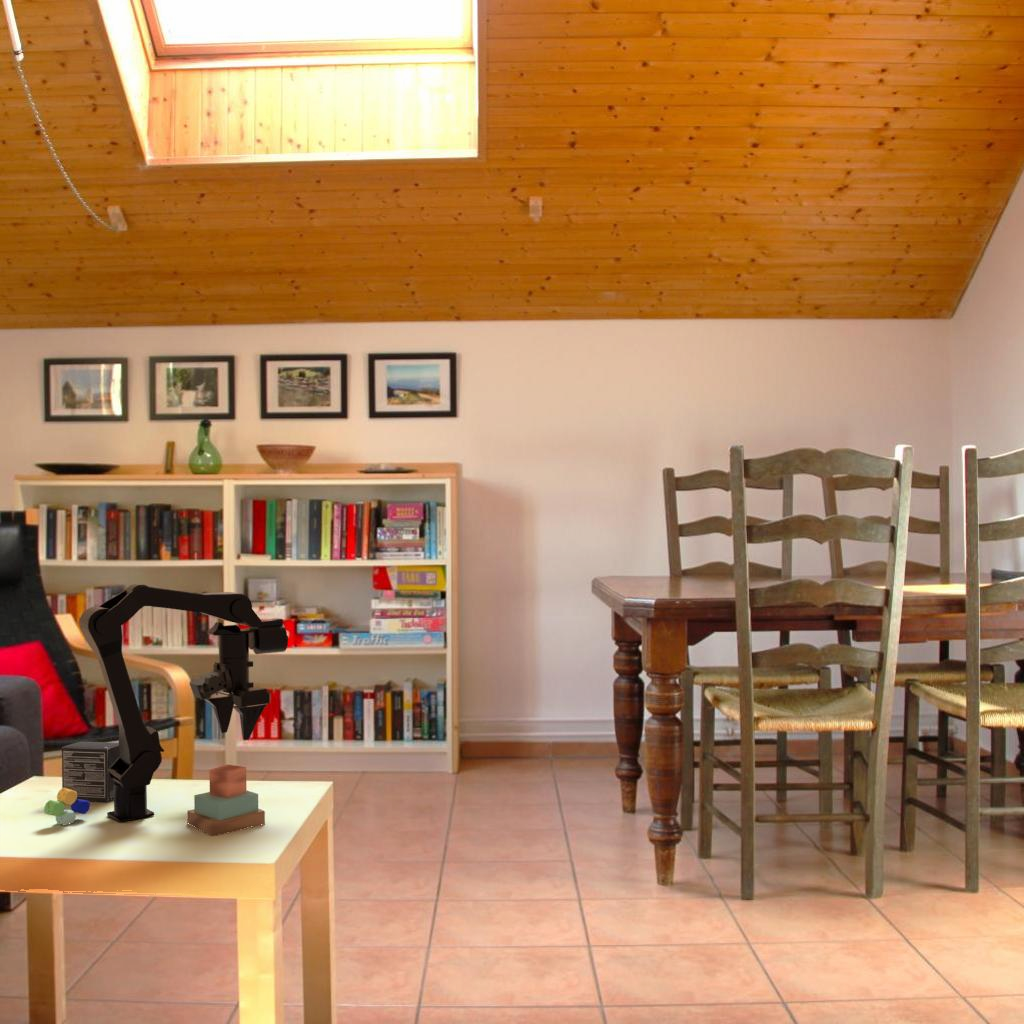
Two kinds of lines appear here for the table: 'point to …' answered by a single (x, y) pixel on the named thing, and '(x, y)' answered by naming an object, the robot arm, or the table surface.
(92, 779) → the small box
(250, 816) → the tower base
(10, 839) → the table surface
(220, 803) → the tower top
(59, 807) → the multicolored block cluster
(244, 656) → the robot arm
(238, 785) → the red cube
